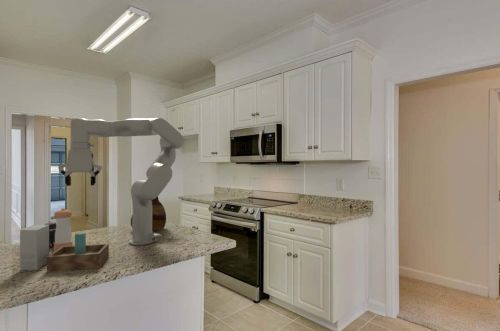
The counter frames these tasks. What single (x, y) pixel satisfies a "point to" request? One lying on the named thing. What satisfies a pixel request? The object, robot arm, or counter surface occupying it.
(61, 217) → the salt shaker
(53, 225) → the battery charger
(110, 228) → the counter surface
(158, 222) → the ceramic pitcher
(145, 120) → the robot arm
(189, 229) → the counter surface
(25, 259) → the skincare box
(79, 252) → the peg
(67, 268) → the box
